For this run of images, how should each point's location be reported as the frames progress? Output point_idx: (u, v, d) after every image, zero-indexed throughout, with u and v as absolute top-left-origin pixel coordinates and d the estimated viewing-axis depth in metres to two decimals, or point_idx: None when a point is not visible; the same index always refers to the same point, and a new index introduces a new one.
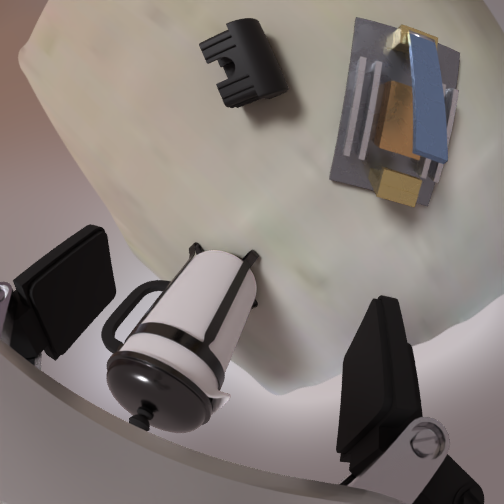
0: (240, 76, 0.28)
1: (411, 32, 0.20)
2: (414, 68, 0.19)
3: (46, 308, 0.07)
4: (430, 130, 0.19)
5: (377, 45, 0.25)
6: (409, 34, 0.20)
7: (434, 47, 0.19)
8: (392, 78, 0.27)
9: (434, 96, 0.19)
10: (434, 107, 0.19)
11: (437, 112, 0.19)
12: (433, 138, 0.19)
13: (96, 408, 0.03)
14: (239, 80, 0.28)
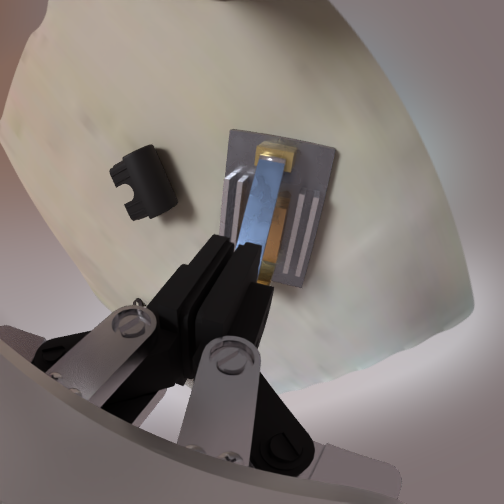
0: (138, 200, 0.40)
1: (260, 157, 0.32)
2: (247, 206, 0.32)
3: (193, 332, 0.07)
4: None
5: (248, 156, 0.38)
6: (259, 159, 0.32)
7: (281, 171, 0.32)
8: None
9: (257, 235, 0.31)
10: None
11: None
12: None
13: (96, 408, 0.03)
14: (137, 203, 0.40)
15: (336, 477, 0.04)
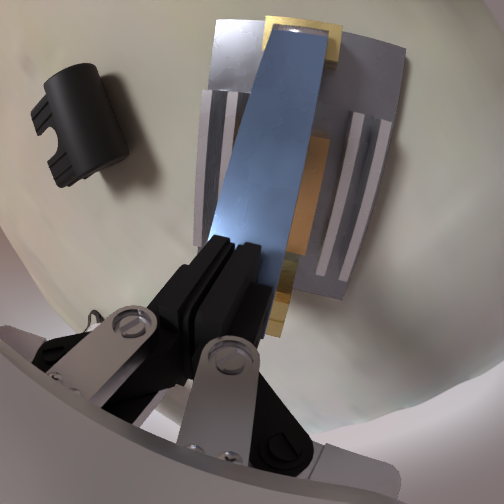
0: (63, 150, 0.20)
1: (276, 27, 0.12)
2: (246, 109, 0.12)
3: (193, 332, 0.07)
4: None
5: (248, 58, 0.18)
6: (272, 31, 0.12)
7: (321, 47, 0.12)
8: None
9: (274, 173, 0.11)
10: (265, 205, 0.11)
11: (269, 217, 0.11)
12: None
13: (96, 408, 0.03)
14: (63, 156, 0.20)
15: (336, 477, 0.04)
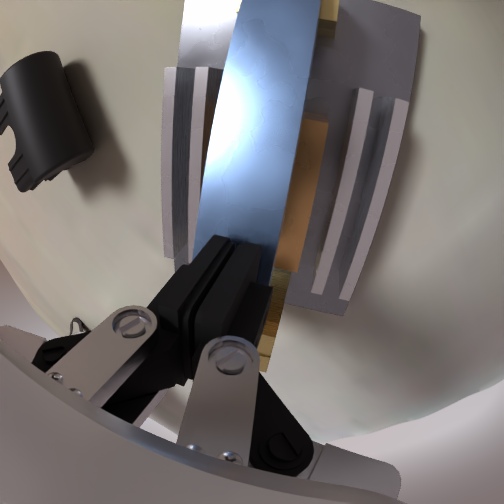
0: (20, 151, 0.16)
1: None
2: (218, 106, 0.09)
3: (194, 332, 0.07)
4: None
5: (225, 28, 0.13)
6: None
7: (313, 6, 0.08)
8: None
9: (255, 192, 0.10)
10: (247, 229, 0.10)
11: (252, 242, 0.10)
12: None
13: (96, 408, 0.03)
14: (21, 157, 0.16)
15: (335, 476, 0.04)
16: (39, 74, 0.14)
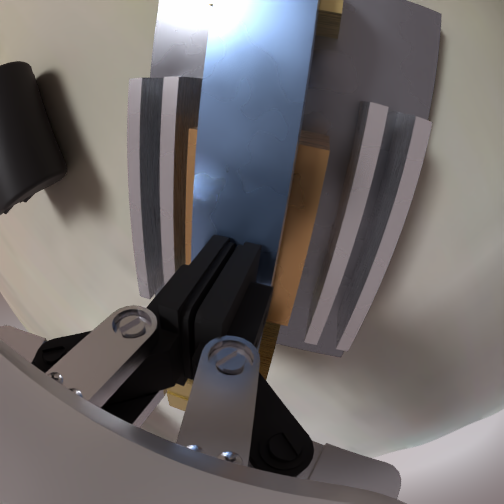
0: None
1: None
2: (199, 139, 0.08)
3: (194, 332, 0.07)
4: None
5: (205, 28, 0.11)
6: None
7: None
8: None
9: (247, 234, 0.09)
10: None
11: None
12: None
13: (96, 408, 0.03)
14: None
15: (335, 476, 0.04)
16: (6, 88, 0.11)
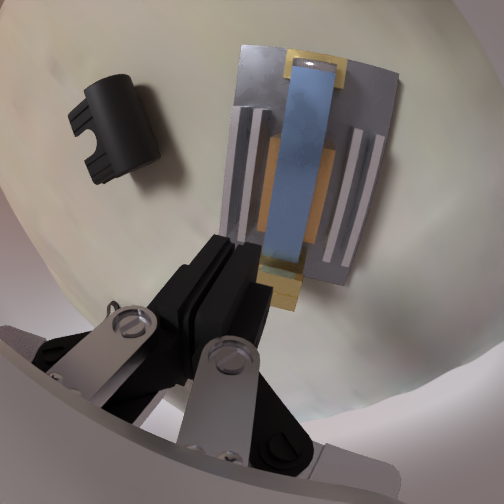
0: (101, 151, 0.25)
1: (295, 63, 0.17)
2: (281, 142, 0.20)
3: (193, 332, 0.07)
4: (283, 232, 0.23)
5: (269, 80, 0.22)
6: (292, 66, 0.17)
7: (330, 85, 0.17)
8: None
9: (300, 185, 0.21)
10: (296, 202, 0.21)
11: (298, 208, 0.21)
12: (284, 241, 0.23)
13: (96, 408, 0.03)
14: (101, 156, 0.25)
15: (335, 476, 0.04)
16: (121, 93, 0.23)
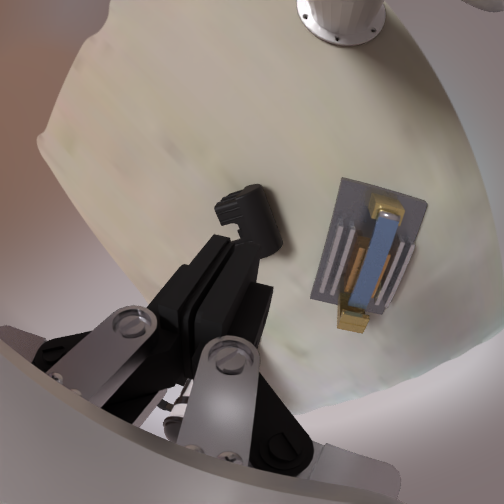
0: (247, 240, 0.43)
1: (380, 215, 0.36)
2: (367, 254, 0.39)
3: (193, 332, 0.07)
4: (361, 295, 0.42)
5: (355, 204, 0.41)
6: (378, 216, 0.36)
7: (395, 228, 0.36)
8: (364, 231, 0.43)
9: (373, 274, 0.40)
10: (369, 281, 0.40)
11: (370, 284, 0.40)
12: (361, 299, 0.42)
13: (96, 408, 0.03)
14: None
15: (336, 476, 0.04)
16: (263, 203, 0.41)
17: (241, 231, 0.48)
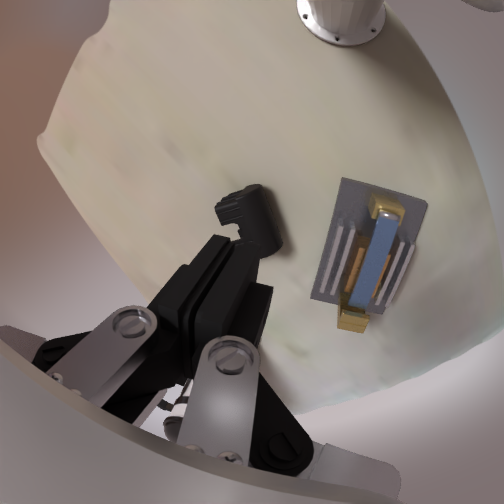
0: (247, 240, 0.43)
1: (381, 215, 0.36)
2: (367, 254, 0.39)
3: (193, 332, 0.07)
4: (361, 295, 0.42)
5: (356, 204, 0.41)
6: (379, 216, 0.36)
7: (395, 228, 0.36)
8: (364, 231, 0.43)
9: (373, 274, 0.40)
10: (370, 281, 0.40)
11: (370, 284, 0.40)
12: (361, 299, 0.42)
13: (96, 408, 0.03)
14: None
15: (336, 477, 0.04)
16: (263, 203, 0.41)
17: (241, 231, 0.48)
